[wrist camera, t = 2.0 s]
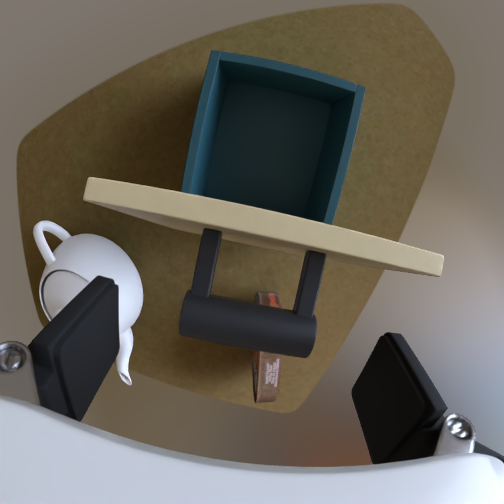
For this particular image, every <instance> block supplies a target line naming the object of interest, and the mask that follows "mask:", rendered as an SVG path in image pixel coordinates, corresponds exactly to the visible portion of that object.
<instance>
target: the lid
mask: <svg viewBox="0 0 504 504" xmlns="http://www.w3.org/2000/svg"><path fill="white" fill-rule="evenodd" d="M83 200H84V201H87V202H90V203H94V204H97V205H100V206H103V207H106V208H109V209H113V210H116V211H119V212H122V213H125V214H128V215H131V216H135V217H138V218H141V219H144V220H147V221H150V222H154V223H157V224H160V225H163V226H166V227H169V228H173V229H177V230H181V231H186V232H191V233H196V234H201V235H202V237H201V242H200V247H199V252H198V257H197V262H196V267H195V272H194V277H193V282H192V287H191V290H188V291H187V293H186V295H185V298H184V301H183V305H182V309H181V314H180V320H179V334H180V335H182V336H186V337H191V338H195V339H200V340H204V341H209V342H214V343H219V344H223V345H229V346H234V347H239V348H244V349H250V350H256V351H262V352H268V353H274V354H280V355H287V356H294V357H301V358H306V357H308V356H309V355H310V353H311V351H312V349H313V347H314V343H315V340H316V334H317V320H316V317H315V315H314V314H313V313H314V309H315V305H316V301H317V296H318V292H319V288H320V283H321V279H322V274H323V269H324V265H325V261H330V262H337V263H344V264H351V265H358V266H365V267H372V268H379V269H387V270H393V271H400V272H408V273H414V274H421V275H429V276H436V277H440V276H441V272H442V266H443V260H444V256H443V255H440V254H437V253H433V252H430V251H426V250H423V249H419V248H416V247H412V246H409V245H405V244H402V243H398V242H395V241H391V240H387V239H384V238H380V237H376V236H372V235H369V234H365V233H361V232H357V231H353V230H349V229H345V228H341V227H337V226H333V225H329V224H325V223H321V222H317V221H313V220H309V219H305V218H300V217H296V216H292V215H288V214H283V213H279V212H274V211H270V210H265V209H261V208H256V207H252V206H247V205H242V204H238V203H233V202H228V201H223V200H218V199H213V198H208V197H203V196H198V195H193V194H188V193H183V192H177V191H172V190H166V189H161V188H155V187H150V186H144V185H138V184H132V183H126V182H120V181H114V180H108V179H101V178H95V177H89V178H88V180H87V184H86V188H85V192H84V196H83ZM221 239H224V240H229V241H234V242H239V243H243V244H248V245H253V246H257V247H262V248H267V249H272V250H276V251H281V252H286V253H290V254H295V255H300V256H304V257H305V258H304V262H303V267H302V272H301V276H300V281H299V285H298V290H297V294H296V299H295V303H294V308H293V310H288V309H282V308H277V307H271V306H266V305H261V304H256V303H251V302H246V301H241V300H236V299H231V298H226V297H221V296H216V295H212V294H210V292H211V287H212V282H213V277H214V272H215V267H216V262H217V258H218V253H219V248H220V243H221Z"/></svg>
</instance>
